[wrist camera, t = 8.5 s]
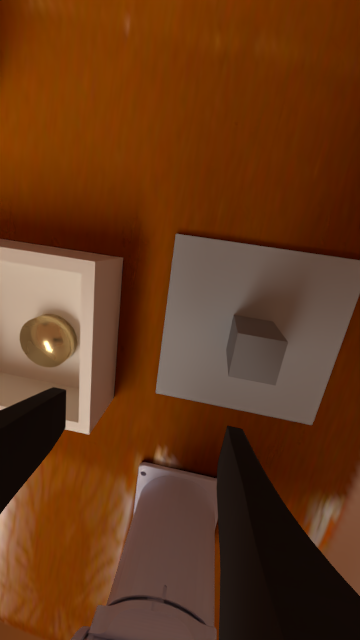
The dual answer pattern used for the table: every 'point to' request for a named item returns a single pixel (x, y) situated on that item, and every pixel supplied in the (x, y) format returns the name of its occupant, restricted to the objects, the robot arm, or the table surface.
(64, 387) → the box
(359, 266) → the lid
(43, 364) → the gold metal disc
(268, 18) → the table surface
